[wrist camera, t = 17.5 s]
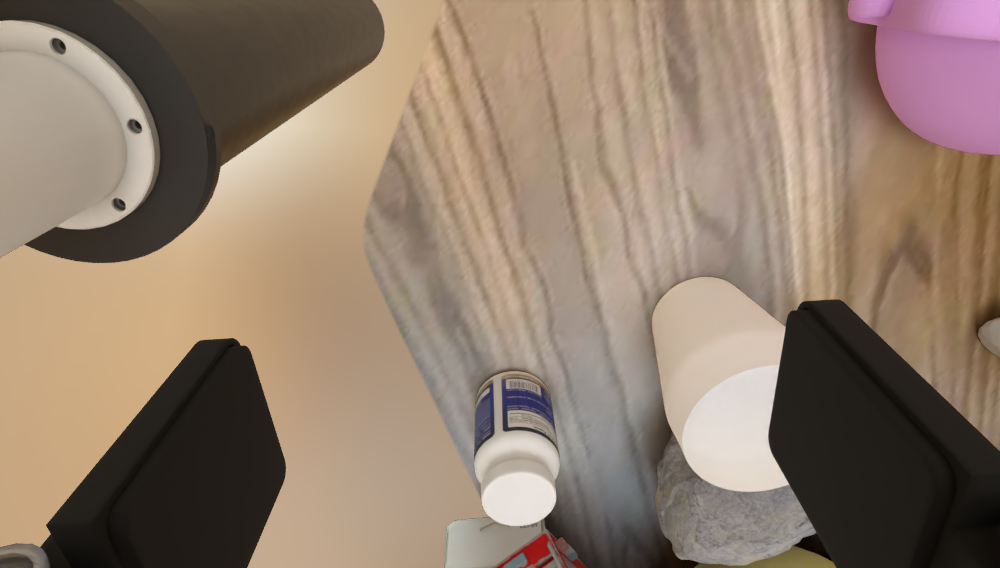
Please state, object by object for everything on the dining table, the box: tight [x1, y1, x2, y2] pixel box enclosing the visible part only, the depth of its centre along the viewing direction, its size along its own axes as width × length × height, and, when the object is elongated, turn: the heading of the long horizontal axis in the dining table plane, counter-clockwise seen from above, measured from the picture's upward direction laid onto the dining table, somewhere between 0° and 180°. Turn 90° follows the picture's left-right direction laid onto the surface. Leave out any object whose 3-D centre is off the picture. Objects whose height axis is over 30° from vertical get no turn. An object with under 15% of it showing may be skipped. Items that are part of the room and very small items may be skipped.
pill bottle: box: [474, 371, 560, 526], centre depth 42 cm, size 6×6×10 cm
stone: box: [655, 432, 816, 566], centre depth 43 cm, size 15×16×10 cm
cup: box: [652, 277, 789, 492], centre depth 37 cm, size 9×9×12 cm
